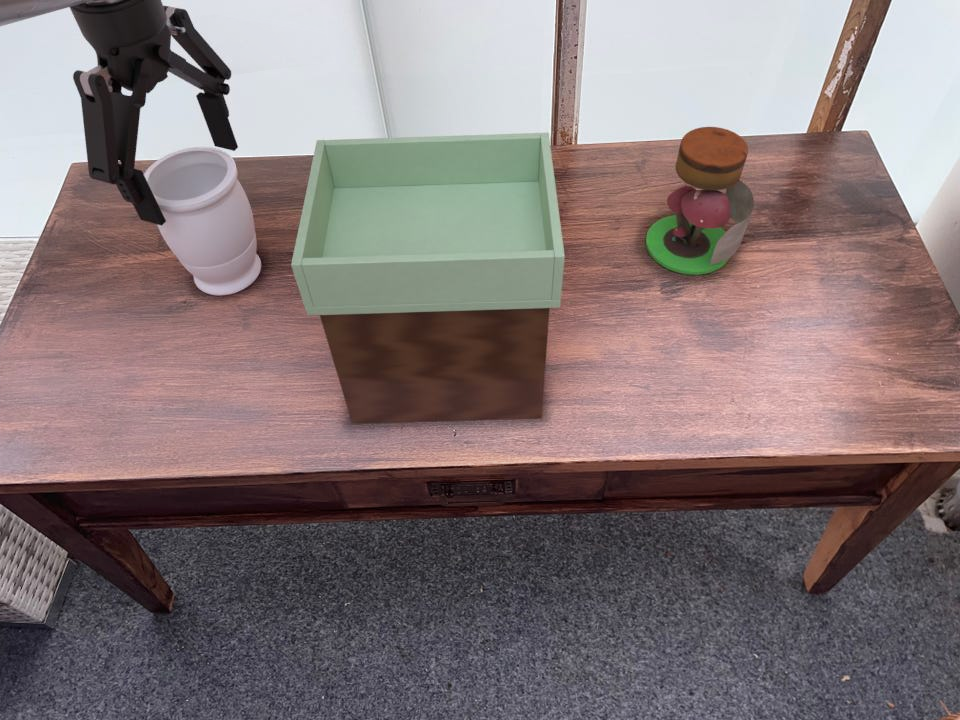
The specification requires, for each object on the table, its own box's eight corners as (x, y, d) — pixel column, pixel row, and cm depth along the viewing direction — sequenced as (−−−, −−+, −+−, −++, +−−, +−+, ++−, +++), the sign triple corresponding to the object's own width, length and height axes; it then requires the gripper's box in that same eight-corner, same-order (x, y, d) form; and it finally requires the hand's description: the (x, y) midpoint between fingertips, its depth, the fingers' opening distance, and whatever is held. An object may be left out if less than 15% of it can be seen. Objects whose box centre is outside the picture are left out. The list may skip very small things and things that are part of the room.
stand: (532, 312, 85) (538, 190, 71) (541, 418, 76) (550, 301, 62) (363, 317, 86) (336, 196, 71) (352, 424, 76) (317, 308, 62)
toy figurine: (643, 281, 88) (664, 181, 76) (640, 213, 96) (659, 113, 84) (742, 287, 87) (780, 186, 75) (731, 218, 95) (764, 117, 83)
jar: (205, 241, 95) (163, 142, 83) (281, 247, 94) (249, 148, 82) (172, 299, 88) (122, 202, 76) (254, 307, 87) (215, 209, 75)
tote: (545, 184, 72) (548, 132, 67) (560, 308, 61) (564, 256, 57) (328, 191, 72) (316, 139, 67) (307, 315, 62) (290, 264, 57)
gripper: (40, 66, 55) (148, 264, 72) (225, -67, 69) (279, 125, 86) (-33, 49, 57) (89, 247, 74) (161, -77, 71) (227, 113, 88)
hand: (191, 182), depth 80 cm, fingers open, 13 cm apart
